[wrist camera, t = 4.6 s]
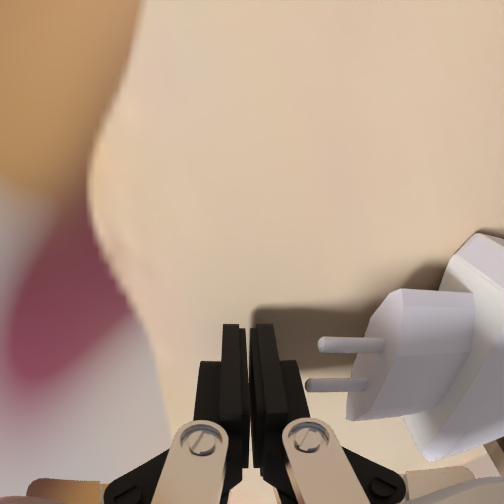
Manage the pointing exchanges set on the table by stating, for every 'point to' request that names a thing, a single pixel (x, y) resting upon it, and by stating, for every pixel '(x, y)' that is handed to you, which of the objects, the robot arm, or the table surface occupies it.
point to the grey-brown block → (496, 453)
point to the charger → (434, 356)
